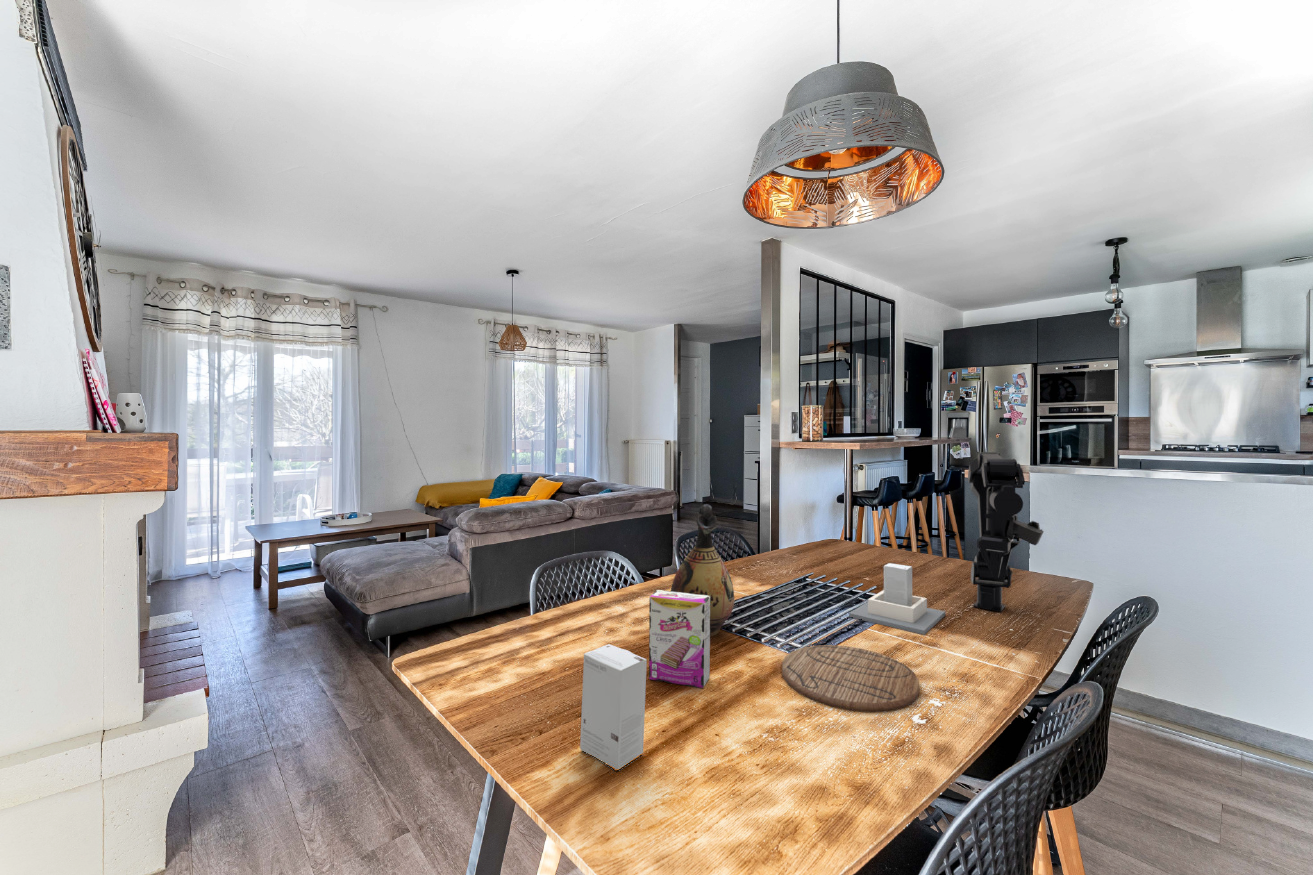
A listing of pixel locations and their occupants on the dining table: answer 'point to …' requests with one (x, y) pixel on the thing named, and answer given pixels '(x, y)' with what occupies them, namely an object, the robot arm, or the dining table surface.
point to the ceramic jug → (707, 573)
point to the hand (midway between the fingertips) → (999, 573)
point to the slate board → (918, 626)
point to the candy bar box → (679, 638)
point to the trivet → (850, 678)
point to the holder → (897, 608)
